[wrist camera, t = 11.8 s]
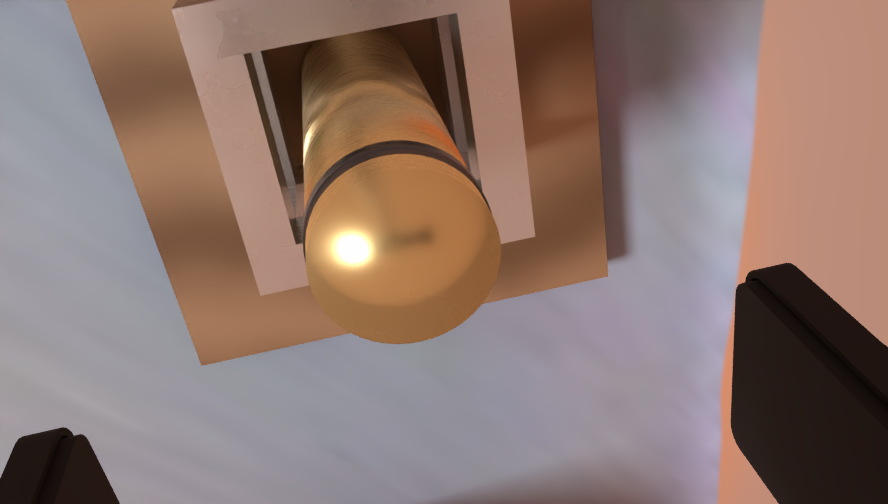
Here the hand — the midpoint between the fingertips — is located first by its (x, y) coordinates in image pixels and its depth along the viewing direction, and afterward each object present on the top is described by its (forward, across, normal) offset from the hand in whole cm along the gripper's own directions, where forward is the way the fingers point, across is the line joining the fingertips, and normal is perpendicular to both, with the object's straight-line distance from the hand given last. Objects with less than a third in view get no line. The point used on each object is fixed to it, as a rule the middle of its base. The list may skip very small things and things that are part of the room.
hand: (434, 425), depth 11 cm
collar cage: (+20, 0, +1) cm, 21 cm away
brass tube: (+20, 0, +1) cm, 20 cm away
